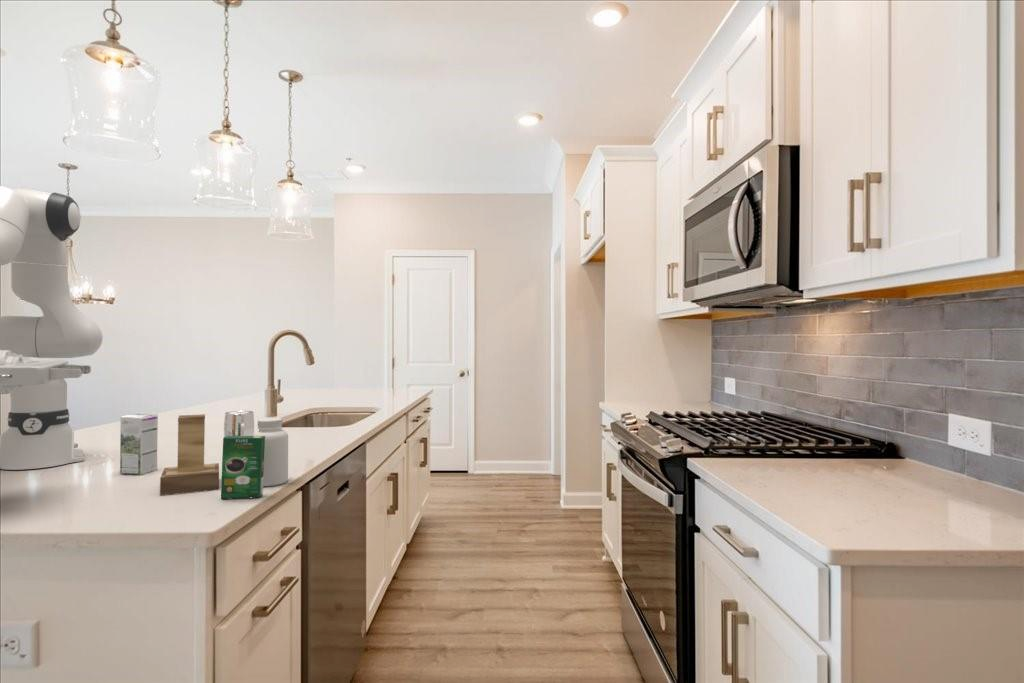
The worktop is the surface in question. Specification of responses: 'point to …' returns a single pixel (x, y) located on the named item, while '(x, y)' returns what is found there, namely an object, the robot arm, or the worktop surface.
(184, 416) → the oak block
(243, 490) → the coffee box
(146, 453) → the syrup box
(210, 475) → the walnut base
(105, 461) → the worktop surface
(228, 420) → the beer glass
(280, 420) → the pill bottle
